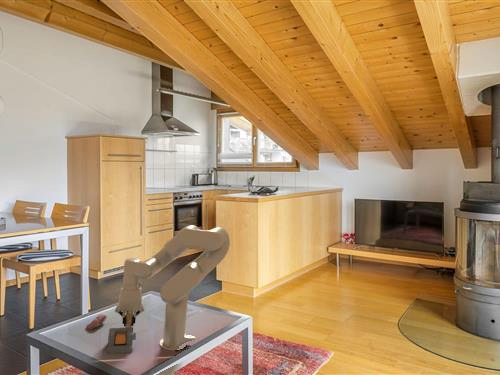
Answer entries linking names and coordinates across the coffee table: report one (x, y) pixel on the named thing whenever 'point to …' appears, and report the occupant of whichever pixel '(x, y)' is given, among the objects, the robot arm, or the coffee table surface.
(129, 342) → the switch box
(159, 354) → the coffee table surface
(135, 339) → the mat
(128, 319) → the stylus
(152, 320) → the coffee table surface
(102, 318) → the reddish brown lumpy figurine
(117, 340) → the button
